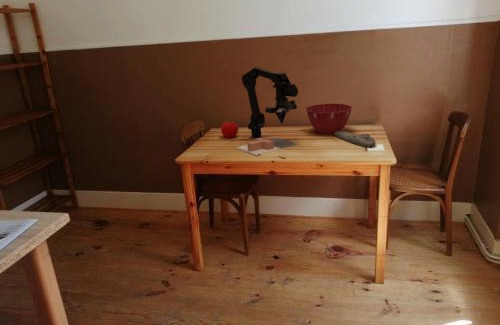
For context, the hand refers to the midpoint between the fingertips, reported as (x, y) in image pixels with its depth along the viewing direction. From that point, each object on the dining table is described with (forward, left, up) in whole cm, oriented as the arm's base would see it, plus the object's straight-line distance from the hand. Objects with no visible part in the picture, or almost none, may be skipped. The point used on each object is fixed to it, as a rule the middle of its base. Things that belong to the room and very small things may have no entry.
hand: (281, 123), depth 222 cm
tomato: (-36, -14, -12) cm, 41 cm away
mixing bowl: (-1, +38, -12) cm, 40 cm away
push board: (+1, -11, -12) cm, 17 cm away
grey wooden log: (+25, +32, -13) cm, 43 cm away
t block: (+2, -18, -11) cm, 22 cm away
